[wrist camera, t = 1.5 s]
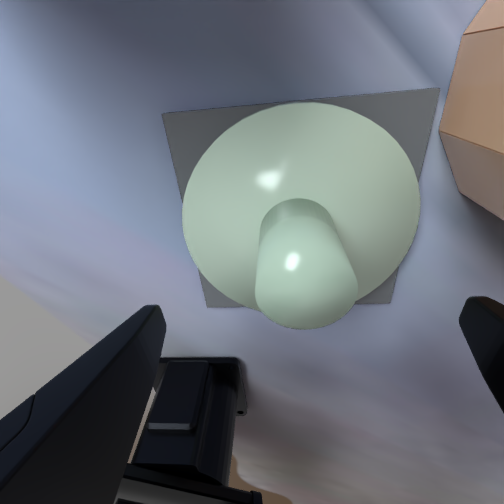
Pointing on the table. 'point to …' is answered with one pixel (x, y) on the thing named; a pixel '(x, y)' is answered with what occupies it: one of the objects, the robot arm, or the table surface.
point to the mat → (368, 105)
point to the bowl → (478, 111)
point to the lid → (301, 211)
